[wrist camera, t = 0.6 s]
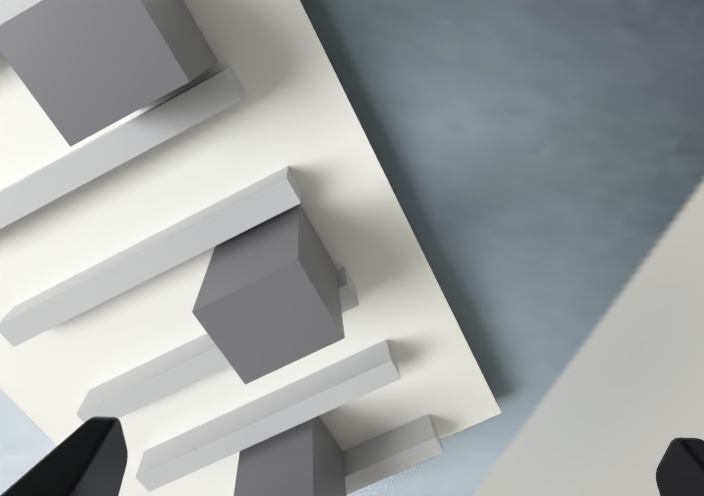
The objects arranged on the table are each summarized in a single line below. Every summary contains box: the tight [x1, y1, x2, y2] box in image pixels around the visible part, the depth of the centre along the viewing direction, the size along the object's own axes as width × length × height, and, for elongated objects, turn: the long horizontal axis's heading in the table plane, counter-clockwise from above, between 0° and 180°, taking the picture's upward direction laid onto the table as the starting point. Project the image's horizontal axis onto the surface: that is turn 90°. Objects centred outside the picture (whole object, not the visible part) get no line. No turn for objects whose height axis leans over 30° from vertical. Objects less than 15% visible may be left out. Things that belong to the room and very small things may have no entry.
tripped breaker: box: [234, 416, 346, 496], centre depth 23 cm, size 4×3×5 cm
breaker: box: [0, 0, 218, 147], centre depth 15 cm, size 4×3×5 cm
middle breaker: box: [192, 204, 345, 385], centre depth 19 cm, size 4×3×5 cm
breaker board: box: [0, 0, 501, 496], centre depth 22 cm, size 18×24×3 cm
